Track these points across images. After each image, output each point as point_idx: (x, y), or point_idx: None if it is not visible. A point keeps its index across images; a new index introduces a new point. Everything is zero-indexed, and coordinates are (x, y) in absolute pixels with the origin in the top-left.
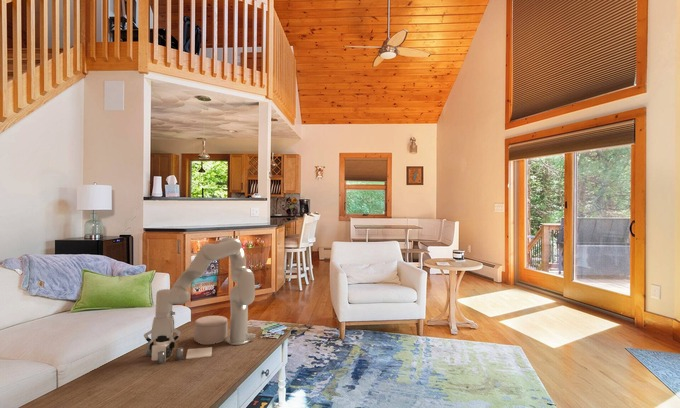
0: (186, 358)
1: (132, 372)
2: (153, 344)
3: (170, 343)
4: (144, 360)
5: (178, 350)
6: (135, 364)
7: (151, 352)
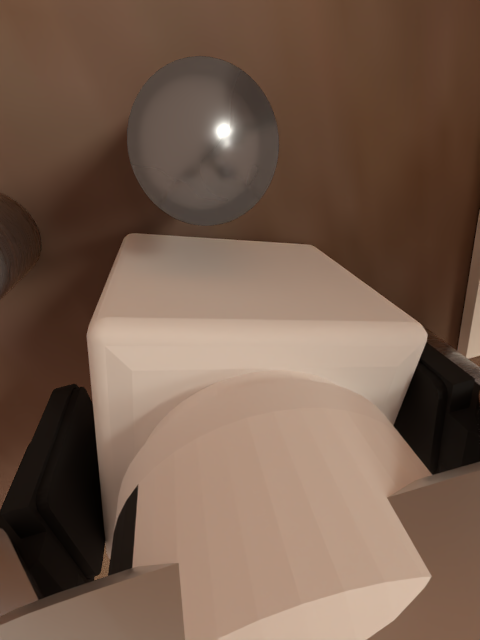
0: (465, 355)
1: (98, 575)
2: (69, 473)
3: (394, 415)
4: (41, 389)
5: None
6: (11, 474)
7: (21, 274)
